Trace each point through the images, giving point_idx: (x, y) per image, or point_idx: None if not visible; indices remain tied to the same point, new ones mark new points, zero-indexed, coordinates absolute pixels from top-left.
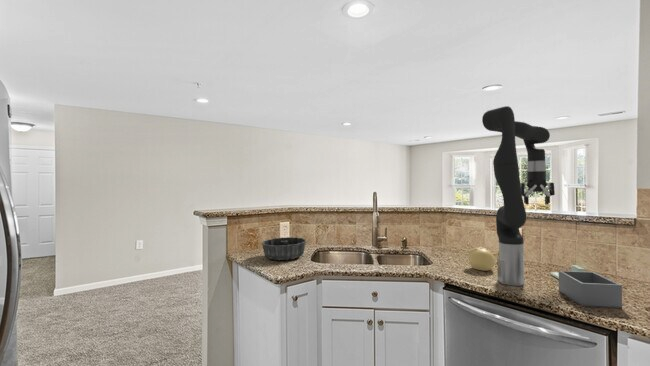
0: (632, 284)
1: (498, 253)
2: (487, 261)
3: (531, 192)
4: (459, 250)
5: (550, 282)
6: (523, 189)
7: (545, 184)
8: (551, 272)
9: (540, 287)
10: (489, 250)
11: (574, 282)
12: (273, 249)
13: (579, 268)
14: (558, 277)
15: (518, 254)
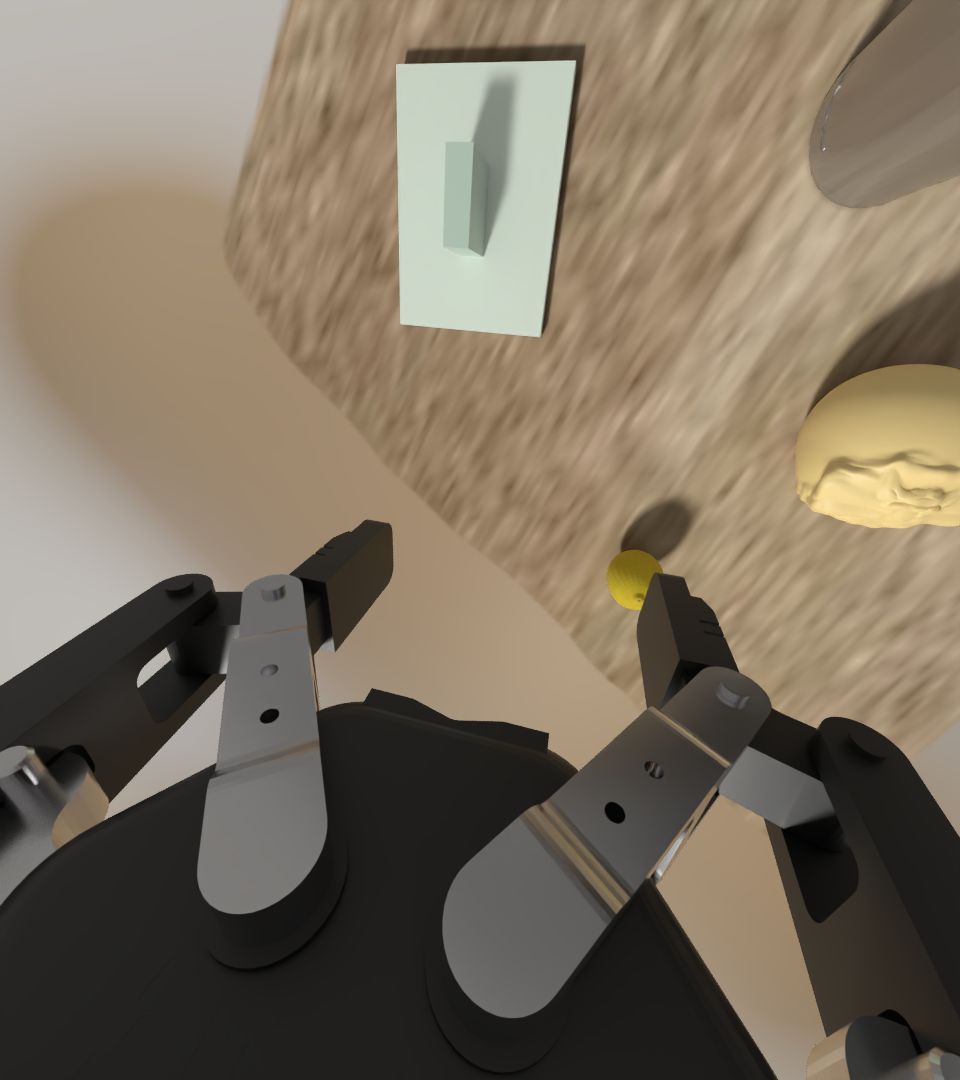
0: (274, 192)
1: None
2: (919, 366)
3: (643, 713)
4: None
5: (630, 170)
6: (939, 910)
7: (76, 882)
8: (539, 330)
9: (767, 22)
10: (859, 468)
11: None
12: None
13: (467, 149)
14: (552, 239)
15: None
